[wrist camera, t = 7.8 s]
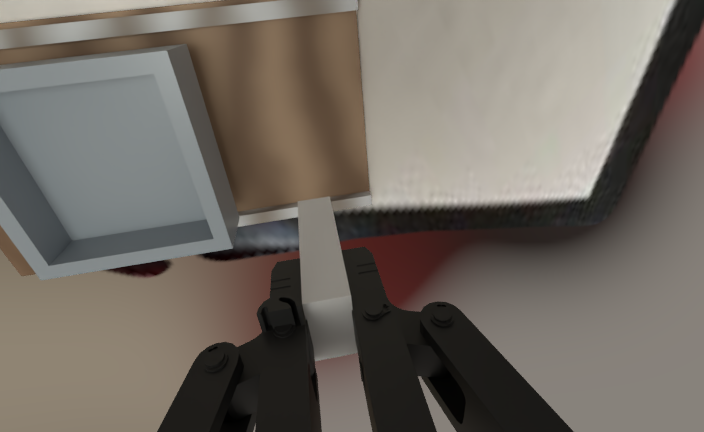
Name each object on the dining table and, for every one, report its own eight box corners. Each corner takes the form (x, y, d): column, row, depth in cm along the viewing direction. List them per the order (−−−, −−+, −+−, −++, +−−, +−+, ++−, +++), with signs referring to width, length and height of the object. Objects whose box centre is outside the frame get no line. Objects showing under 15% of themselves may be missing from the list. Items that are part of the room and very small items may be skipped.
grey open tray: (195, 40, 28) (166, 50, 21) (242, 203, 36) (232, 248, 29) (-7, 63, 27) (-105, 81, 20) (88, 227, 34) (40, 280, 28)
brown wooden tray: (352, -13, 29) (361, -16, 25) (368, 199, 39) (376, 217, 36) (-102, 34, 26) (-161, 38, 22) (46, 251, 36) (21, 276, 33)
